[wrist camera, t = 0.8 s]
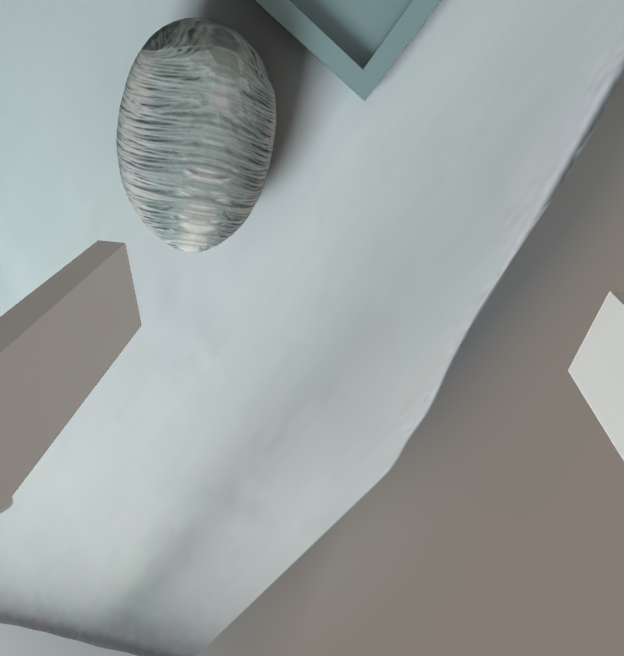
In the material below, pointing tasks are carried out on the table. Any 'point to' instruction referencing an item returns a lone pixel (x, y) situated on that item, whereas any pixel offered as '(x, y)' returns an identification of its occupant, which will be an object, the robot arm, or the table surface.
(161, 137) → the streaked grey egg
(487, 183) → the table surface
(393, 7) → the tray
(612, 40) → the table surface
